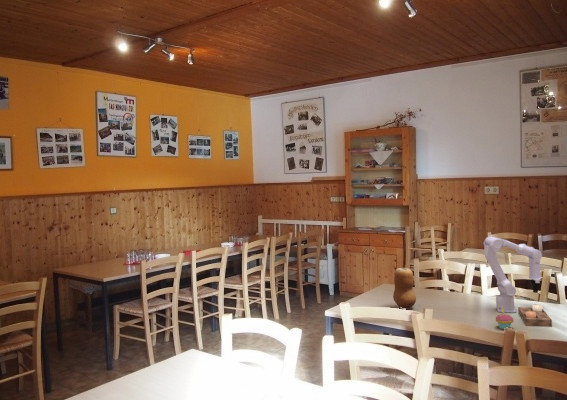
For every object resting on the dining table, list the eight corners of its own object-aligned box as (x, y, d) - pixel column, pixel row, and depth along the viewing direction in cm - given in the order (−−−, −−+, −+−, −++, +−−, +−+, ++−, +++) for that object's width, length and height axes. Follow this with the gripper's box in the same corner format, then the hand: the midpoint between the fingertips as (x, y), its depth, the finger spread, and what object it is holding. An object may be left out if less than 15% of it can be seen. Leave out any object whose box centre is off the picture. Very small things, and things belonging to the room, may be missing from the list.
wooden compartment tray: (526, 325, 246) (526, 319, 246) (518, 313, 267) (518, 307, 267) (551, 326, 243) (551, 319, 242) (542, 313, 264) (541, 307, 263)
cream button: (533, 315, 257) (533, 306, 257) (531, 313, 262) (531, 304, 262) (543, 316, 256) (543, 307, 256) (541, 313, 260) (541, 304, 260)
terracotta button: (527, 322, 249) (526, 313, 249) (525, 320, 254) (525, 311, 254) (537, 323, 248) (536, 313, 248) (535, 320, 252) (534, 311, 252)
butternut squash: (420, 309, 285) (419, 268, 284) (402, 313, 280) (400, 271, 279) (406, 304, 298) (404, 265, 296) (388, 307, 293) (387, 268, 291)
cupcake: (492, 326, 249) (491, 303, 248) (507, 324, 249) (507, 302, 249) (501, 331, 240) (500, 308, 239) (517, 329, 241) (516, 306, 240)
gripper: (545, 272, 265) (546, 295, 266) (539, 266, 279) (540, 289, 279) (531, 272, 267) (532, 295, 268) (526, 266, 281) (527, 289, 282)
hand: (535, 292), depth 274 cm, fingers closed
